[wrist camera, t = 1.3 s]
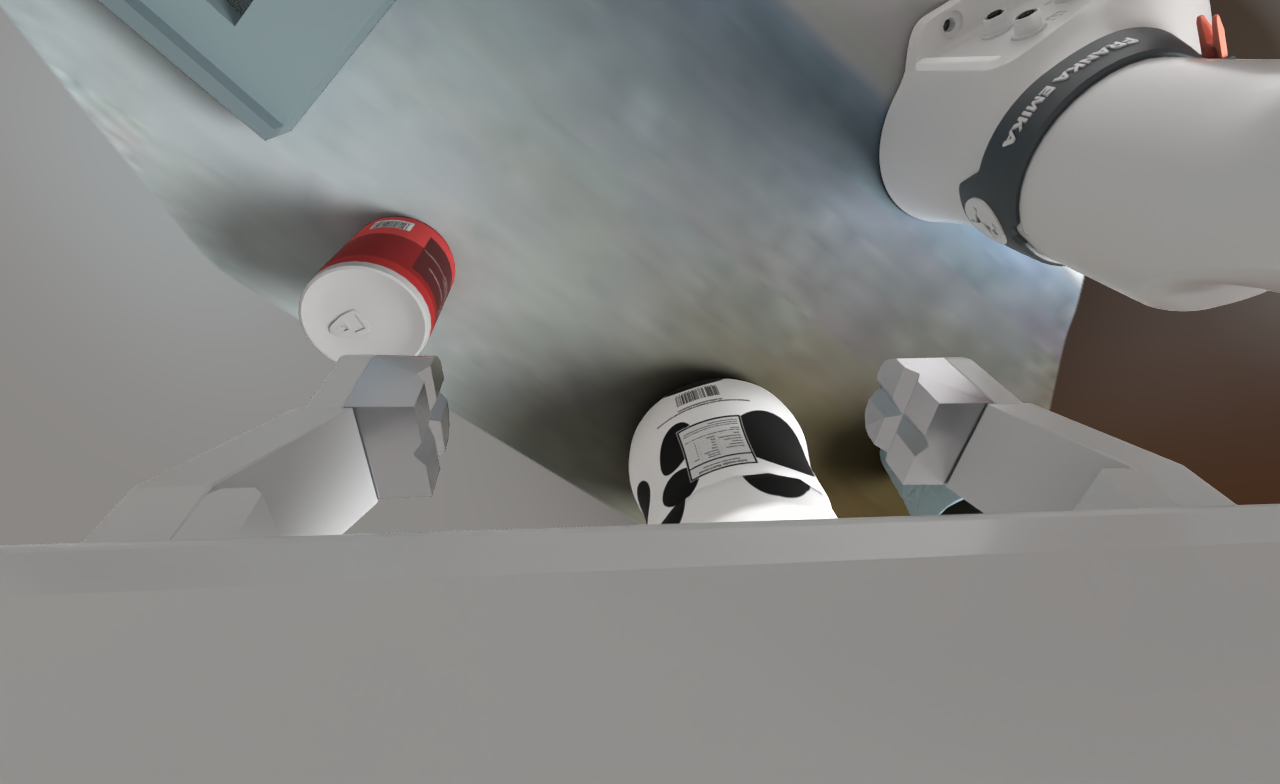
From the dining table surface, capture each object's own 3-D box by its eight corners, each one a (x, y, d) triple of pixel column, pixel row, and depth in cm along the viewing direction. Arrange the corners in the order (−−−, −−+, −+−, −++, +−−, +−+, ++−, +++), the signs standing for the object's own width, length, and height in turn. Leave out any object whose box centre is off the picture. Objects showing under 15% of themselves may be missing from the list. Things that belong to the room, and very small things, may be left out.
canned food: (332, 254, 43) (269, 315, 34) (403, 191, 41) (356, 238, 32) (408, 323, 47) (371, 394, 38) (477, 268, 45) (454, 329, 36)
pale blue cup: (978, 428, 61) (1057, 506, 52) (913, 489, 66) (974, 572, 56) (916, 395, 58) (988, 472, 48) (851, 462, 62) (905, 545, 52)
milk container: (717, 515, 65) (762, 662, 50) (592, 458, 58) (601, 609, 43) (822, 412, 58) (910, 547, 43) (694, 333, 51) (746, 461, 36)
